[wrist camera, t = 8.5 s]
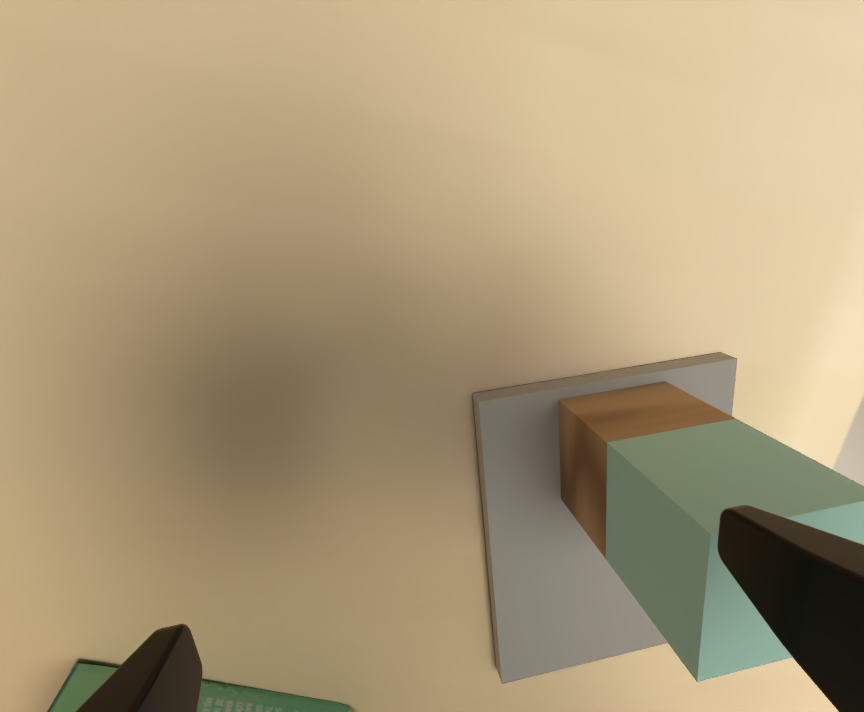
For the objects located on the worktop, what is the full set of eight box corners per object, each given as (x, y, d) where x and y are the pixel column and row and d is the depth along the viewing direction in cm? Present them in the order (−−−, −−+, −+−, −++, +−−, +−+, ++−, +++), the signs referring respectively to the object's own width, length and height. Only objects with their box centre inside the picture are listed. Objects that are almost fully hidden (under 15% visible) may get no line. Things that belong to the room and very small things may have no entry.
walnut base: (660, 479, 22) (723, 532, 19) (560, 498, 22) (605, 558, 18) (665, 381, 21) (734, 418, 17) (558, 399, 20) (606, 441, 16)
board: (698, 617, 27) (710, 632, 26) (496, 666, 25) (501, 683, 24) (720, 352, 22) (737, 358, 21) (472, 393, 21) (478, 402, 20)
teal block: (723, 533, 19) (851, 641, 14) (605, 559, 18) (697, 681, 13) (735, 418, 17) (883, 496, 12) (607, 442, 16) (710, 533, 12)
